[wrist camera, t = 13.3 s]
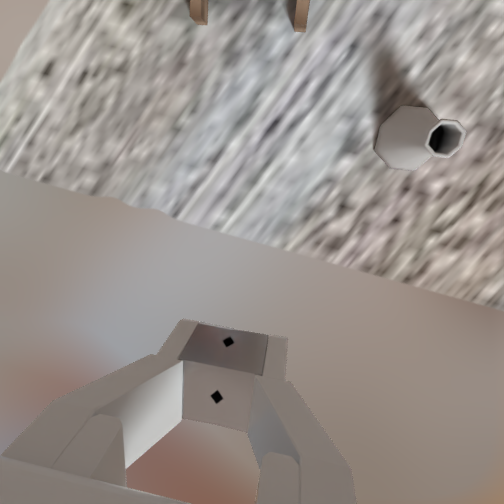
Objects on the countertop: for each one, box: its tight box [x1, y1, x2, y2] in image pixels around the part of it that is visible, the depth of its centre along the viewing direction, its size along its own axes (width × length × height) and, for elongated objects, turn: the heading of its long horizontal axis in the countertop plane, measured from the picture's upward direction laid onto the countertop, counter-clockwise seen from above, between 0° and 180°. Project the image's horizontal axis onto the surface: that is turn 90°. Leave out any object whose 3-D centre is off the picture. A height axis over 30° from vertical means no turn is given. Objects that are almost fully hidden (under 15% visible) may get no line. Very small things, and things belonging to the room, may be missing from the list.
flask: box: [374, 105, 467, 171], centre depth 31 cm, size 7×7×10 cm
